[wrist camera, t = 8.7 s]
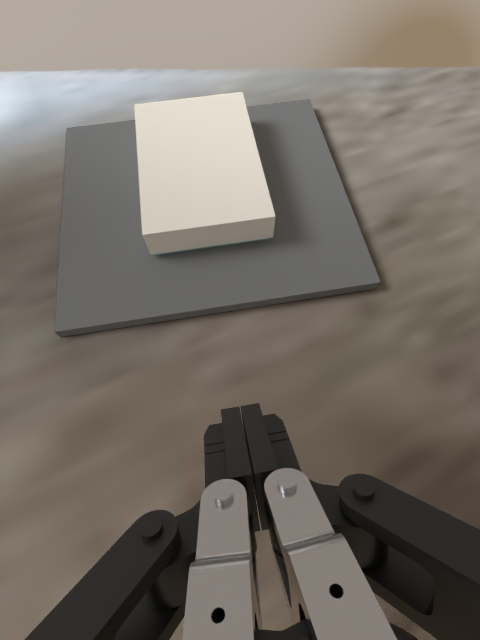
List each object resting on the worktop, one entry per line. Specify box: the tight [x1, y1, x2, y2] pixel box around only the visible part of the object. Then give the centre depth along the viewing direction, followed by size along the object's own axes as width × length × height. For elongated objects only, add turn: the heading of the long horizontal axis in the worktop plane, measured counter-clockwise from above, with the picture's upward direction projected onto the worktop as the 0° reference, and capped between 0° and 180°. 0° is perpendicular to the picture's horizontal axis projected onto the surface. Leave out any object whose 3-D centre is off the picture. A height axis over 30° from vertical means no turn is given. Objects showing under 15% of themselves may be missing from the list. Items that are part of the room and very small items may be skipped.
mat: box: [54, 99, 380, 337], centre depth 26 cm, size 20×18×1 cm
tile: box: [134, 92, 275, 255], centre depth 25 cm, size 8×2×12 cm
